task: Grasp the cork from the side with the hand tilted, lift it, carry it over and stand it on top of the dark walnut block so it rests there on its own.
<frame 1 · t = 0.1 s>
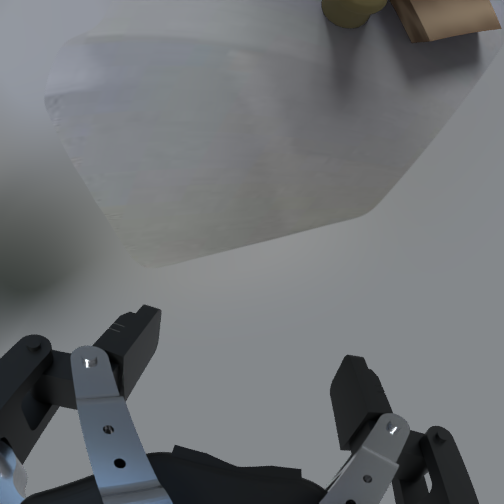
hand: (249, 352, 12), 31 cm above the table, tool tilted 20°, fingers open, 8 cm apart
cork: (345, 7, 25), on the table
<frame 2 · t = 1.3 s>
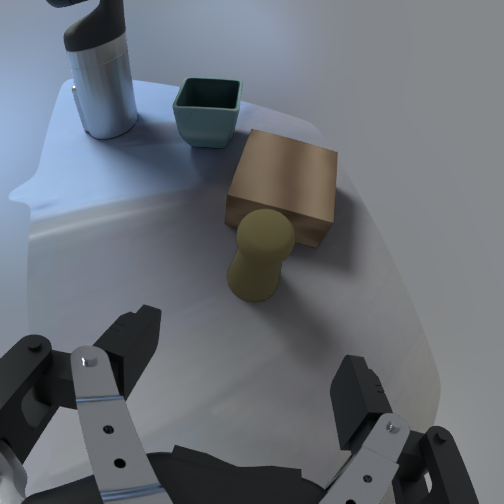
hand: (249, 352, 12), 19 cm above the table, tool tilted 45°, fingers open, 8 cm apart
cork: (252, 277, 35), on the table
flower pot: (208, 138, 44), on the table
walnut block: (279, 199, 40), on the table
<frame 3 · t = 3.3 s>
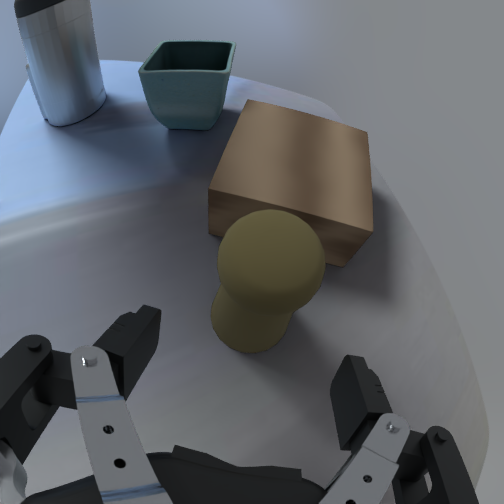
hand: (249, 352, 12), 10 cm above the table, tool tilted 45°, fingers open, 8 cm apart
cork: (250, 315, 23), on the table
flower pot: (191, 118, 33), on the table
walnut block: (287, 197, 28), on the table
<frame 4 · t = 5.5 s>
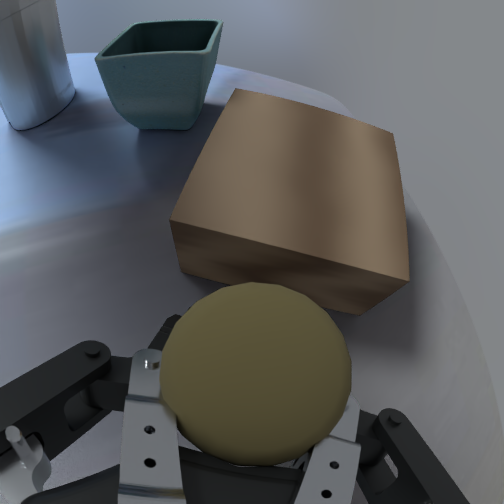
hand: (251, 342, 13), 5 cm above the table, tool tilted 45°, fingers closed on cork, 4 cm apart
cork: (235, 386, 16), on the table, touching gripper
flower pot: (169, 116, 26), on the table
walnut block: (288, 219, 21), on the table
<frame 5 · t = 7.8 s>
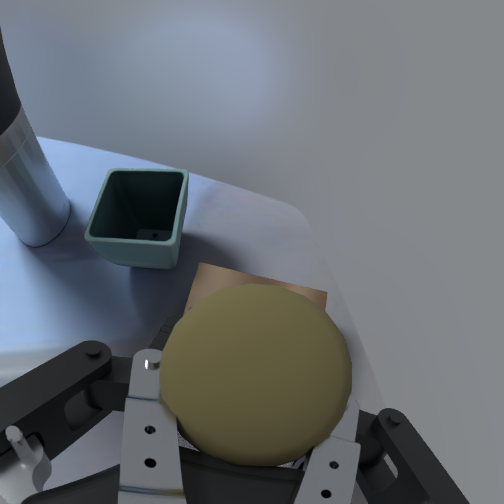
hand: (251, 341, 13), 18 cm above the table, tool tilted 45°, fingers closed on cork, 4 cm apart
cork: (235, 386, 16), point 13 cm above the table, touching gripper
flower pot: (153, 248, 34), on the table
walnut block: (244, 352, 29), on the table
when the fingers open (11 cm above the table, at t = 10.3 s): cork stays where it is, resting on walnut block.
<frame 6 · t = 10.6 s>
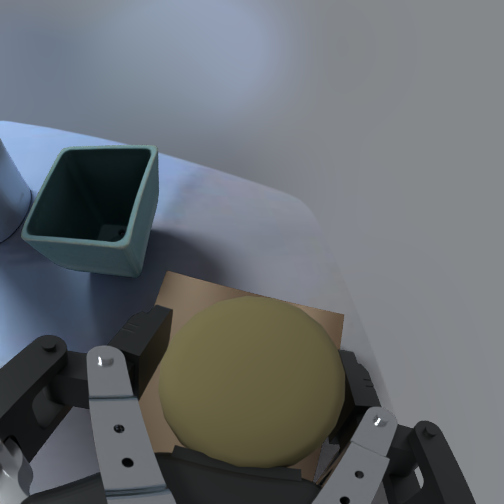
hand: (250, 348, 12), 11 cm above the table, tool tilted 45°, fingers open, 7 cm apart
cork: (233, 391, 16), point 6 cm above the table, touching walnut block
flower pot: (118, 249, 26), on the table
walnut block: (229, 388, 21), on the table
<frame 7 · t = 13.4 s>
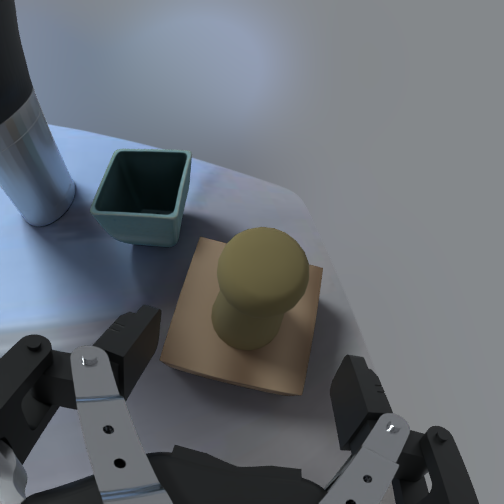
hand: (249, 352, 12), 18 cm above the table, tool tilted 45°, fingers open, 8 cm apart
cork: (246, 316, 25), point 6 cm above the table, touching walnut block
flower pot: (155, 228, 35), on the table
walnut block: (241, 328, 30), on the table
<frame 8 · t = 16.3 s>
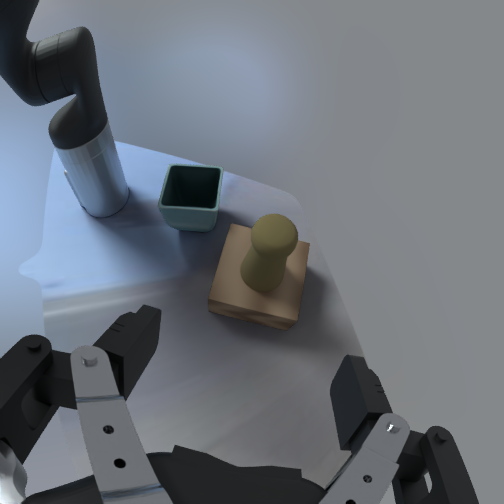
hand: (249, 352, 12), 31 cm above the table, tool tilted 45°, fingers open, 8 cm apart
cork: (262, 271, 41), point 6 cm above the table, touching walnut block
flower pot: (194, 219, 51), on the table
walnut block: (256, 285, 46), on the table
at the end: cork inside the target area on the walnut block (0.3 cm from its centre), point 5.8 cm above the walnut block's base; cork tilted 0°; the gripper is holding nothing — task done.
